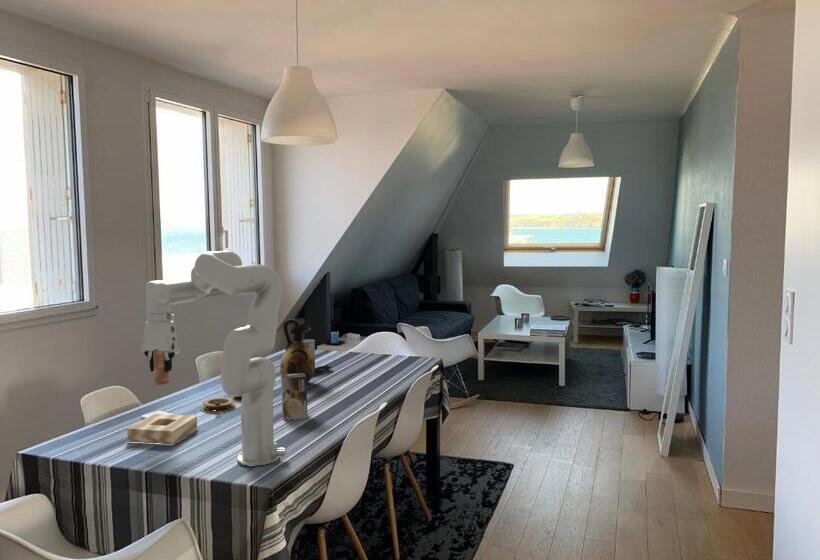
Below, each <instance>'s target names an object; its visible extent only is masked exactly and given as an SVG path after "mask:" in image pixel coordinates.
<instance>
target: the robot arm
mask: <svg viewBox="0 0 820 560" xmlns="http://www.w3.org/2000/svg"><path fill="white" fill-rule="evenodd" d="M190 271H191V272H190V278H189V279H182V280H173V281H171V280H170V281H167V280H164V279H163V280H162V279H161V280H151V281H148V282H146V284H145V302H146V303H145V306H146V321H145V323H144V328H143V329H144V330H143V343H142V345H141V346H140V348H139V350H140V352H142V353H143V354H144V355H145V357H147V359H148V361H149V368H150V370H149V371H150V372H154V363H153V351H154V349H159V350H160V351H162V352H164V354H165V358H166V360H165V361H164V370H165V372H168V373H169V372H170V371H172V368H173V360H174V357H175V356H176V355H178V354H179V353H180V352H181V351H182V350H181V348H180V346H179V345H178V335H177V330H176V329H177V327H176V324H175V322H174V320H172V319H175V314H172V311H171V309H172V306H171V305H178V304H184V303H192V302H194V301H197V300H199V299H201V298H203V297H205V296H207V295H208V294H210V293H211V291H212V289H213V288H216V289H217V290H219V291H220V292H223V293H225V294H226V295H230V296H236V297H237V296H242V295H243V296H245V295H250V294H256V295H255V297H254V299H253V300H252V302H251V304H250V306H249V309H248V318H247V323H246V325H245V326H241V327H237V328H235V329H233V330H231V331H230V332H229V333H228V334H227V336H226V337H225V339H224V343H223V349H222V358H221V367H220V369H221V370H220V386H221V387H222V390H223V391H224V393H225V394H226V395H227V396H230V397H232V396H241V395H243V397H242V402H240V417H241V419H240V421H241V425H240V426H241V452H240V453H239V454H238V455H237V456H236V461H238V462H239V463H241V464H244V465H264V466H266V465H265V464H268V465H271V464H273V463H276V462H277V461H278V460H279V459H280V457H286V456H287V450H286V448H285V447H278V442H275V441H274V440H275V435H274V434H275V433H274V392H275V389H274V388H275V382H276V376H277V373H276V366H275V364H274V363H273V362H272V361H271V360H270V359H269V358H267V357H263V355H267V354H270V353H271V352H272V350H273V349H274V347H275V341H276V333H277V327H278V326H277V325H278V315H279V309H280V305H281V301H282V295H283V284H282V279H281V277H280V276H279V274H278V273H279V272H277V271H276V270H275V269H274V268H273V267H271V266H269V265H266V264H246V265H243V261H242V258H241V257H240V256H239V254H237V253H236V252H233V251H230V250H219V251H218V250H217V251H205V252H202V253H201V254H200V255H198V257H197V258H196V260H195V262H194V266H193V268H192V269H191V270H190ZM238 462H237V463H238ZM239 463H238V464H239ZM270 463H271V464H270ZM241 464H240V465H241ZM244 465H243V466H244Z"/></svg>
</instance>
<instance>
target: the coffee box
mask: <svg viewBox="0 0 820 560" xmlns="http://www.w3.org/2000/svg"><path fill="white" fill-rule="evenodd" d="M280 382H281V383H280V388H281V389H280V391H281V416H282V420H283V421H291V420H290V419H294V420H305V419H308V393H307V392H308V391H307V389H308V388H307V387H308V386H307V384H306V375H305V374H304V373H297V374H281V373H280Z"/></svg>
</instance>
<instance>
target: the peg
mask: <svg viewBox="0 0 820 560" xmlns="http://www.w3.org/2000/svg"><path fill="white" fill-rule="evenodd" d="M165 360H166V358H165V354H164V352H162V351H160V350H159V349H154V351H153V363H154V371H153V381H154V382H153V383H154V385H156V386H158V385H159V386H160V385H167V384H169V381H170V380H169V379H170V378H169V371H168V372H165V370H164V361H165Z"/></svg>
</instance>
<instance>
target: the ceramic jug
mask: <svg viewBox="0 0 820 560" xmlns="http://www.w3.org/2000/svg"><path fill="white" fill-rule="evenodd" d="M290 324H293V325H294V327H293V328H292V329H291V330H290V333H291V334H293V338H291V336H290V334H289V328H288V325H290ZM311 330H312V328H311V327H310V326H309V324H308V323H306V322H301V324H299V322H298V320H296V319H294V318H288V319H287V320H285V321H284V323H283V333H284V336H285V339H286V342H287V344H286V346H285V352H284V354H283V356H282V358H281V359H280V360H281V361H280V366H279V371H280V372H279V373H280V375H281V374H297V373H304V374H305V375H306V384H307V387H308V386H309V382H310V381H311V379H312V378H313V377H314V375H315V371H316V370H315V368H316V363H315V364H314V360H313V357H312V354H311V353H310V351H309V349H308V348H307V346H306V345H305V343H304V342H303V340H304V339H303V336H302V335H303V334H304V333H306V332H310V331H311ZM291 339H292V340H291Z"/></svg>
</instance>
